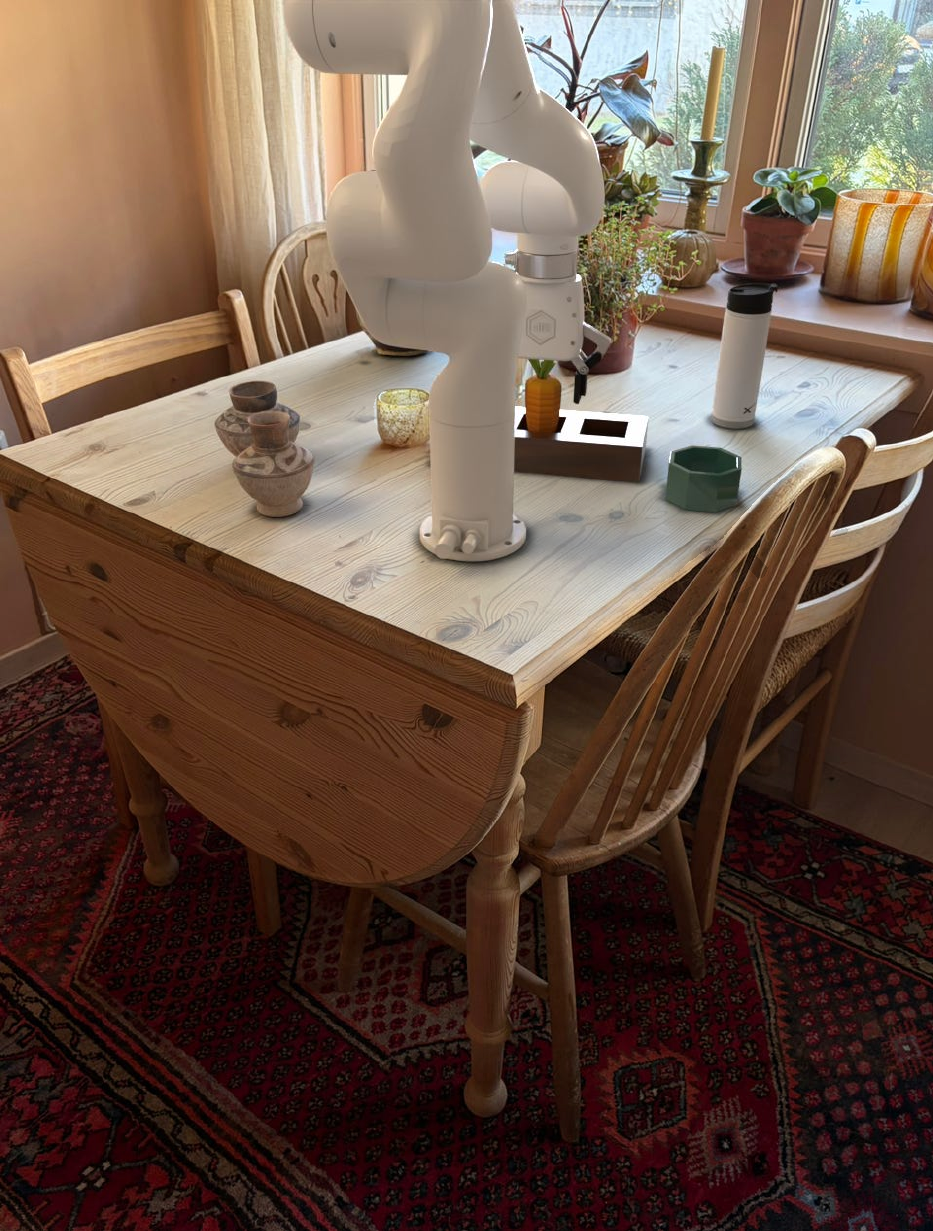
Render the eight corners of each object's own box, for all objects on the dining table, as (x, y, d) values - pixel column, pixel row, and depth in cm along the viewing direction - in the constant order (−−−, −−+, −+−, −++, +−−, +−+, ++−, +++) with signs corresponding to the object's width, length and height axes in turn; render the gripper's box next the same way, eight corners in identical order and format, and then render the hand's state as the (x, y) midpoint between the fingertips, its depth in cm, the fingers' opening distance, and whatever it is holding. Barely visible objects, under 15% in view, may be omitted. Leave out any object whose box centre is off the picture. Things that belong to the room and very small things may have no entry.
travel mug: (757, 431, 144) (779, 291, 134) (711, 427, 145) (729, 289, 135) (755, 415, 149) (776, 279, 139) (710, 412, 151) (728, 277, 140)
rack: (639, 482, 130) (642, 446, 127) (432, 464, 135) (431, 430, 132) (645, 450, 139) (648, 416, 136) (451, 434, 144) (451, 401, 141)
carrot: (519, 462, 136) (522, 354, 127) (526, 448, 140) (529, 342, 132) (555, 465, 134) (560, 356, 126) (561, 451, 139) (566, 345, 131)
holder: (736, 514, 122) (741, 477, 119) (663, 508, 123) (667, 471, 121) (736, 484, 129) (741, 449, 126) (667, 479, 130) (671, 443, 128)
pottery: (241, 532, 119) (227, 438, 112) (216, 454, 139) (203, 371, 132) (333, 517, 122) (325, 425, 115) (296, 443, 142) (287, 361, 135)
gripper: (472, 268, 121) (472, 402, 130) (613, 275, 118) (603, 412, 127) (485, 255, 128) (484, 384, 137) (619, 261, 124) (609, 393, 133)
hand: (541, 397), depth 132 cm, fingers open, 9 cm apart
